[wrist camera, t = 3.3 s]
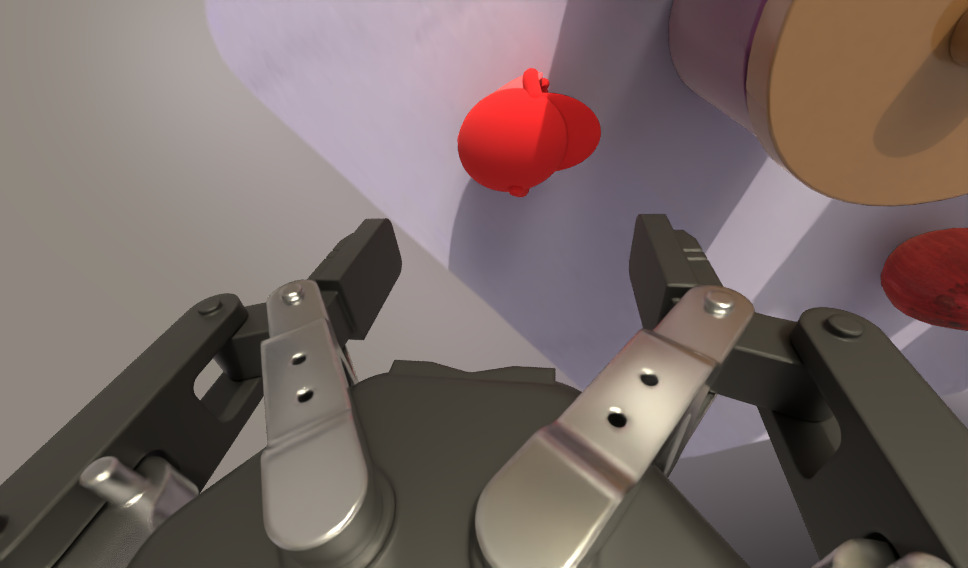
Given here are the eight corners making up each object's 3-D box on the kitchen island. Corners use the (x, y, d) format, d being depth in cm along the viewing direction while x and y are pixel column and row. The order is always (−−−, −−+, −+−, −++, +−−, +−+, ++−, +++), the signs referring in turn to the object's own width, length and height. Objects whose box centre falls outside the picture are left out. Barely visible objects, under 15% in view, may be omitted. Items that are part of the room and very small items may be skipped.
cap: (495, 192, 27) (483, 235, 22) (448, 114, 24) (423, 144, 19) (605, 136, 23) (619, 172, 19) (565, 37, 20) (569, 51, 16)
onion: (870, 292, 27) (963, 382, 21) (839, 241, 25) (933, 323, 19) (979, 248, 24) (1128, 337, 18) (955, 186, 22) (1112, 262, 16)
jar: (647, 114, 22) (729, 219, 12) (685, -119, 16) (904, -300, 6) (832, 103, 21) (1109, 213, 10) (946, -160, 15) (1830, -500, 5)
